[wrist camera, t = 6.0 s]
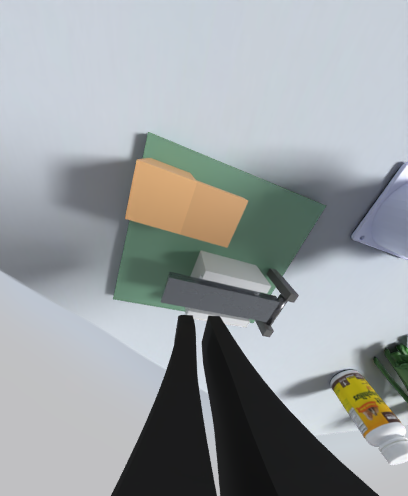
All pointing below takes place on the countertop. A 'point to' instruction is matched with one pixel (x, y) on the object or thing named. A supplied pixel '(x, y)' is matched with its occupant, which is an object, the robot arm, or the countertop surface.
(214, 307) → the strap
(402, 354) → the daffodil flowers
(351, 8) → the countertop surface
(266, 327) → the board
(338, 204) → the countertop surface
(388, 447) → the supplement bottle
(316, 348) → the countertop surface
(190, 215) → the orange l-shaped block
